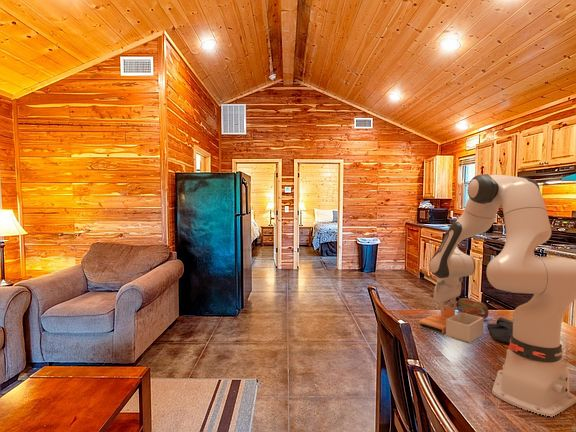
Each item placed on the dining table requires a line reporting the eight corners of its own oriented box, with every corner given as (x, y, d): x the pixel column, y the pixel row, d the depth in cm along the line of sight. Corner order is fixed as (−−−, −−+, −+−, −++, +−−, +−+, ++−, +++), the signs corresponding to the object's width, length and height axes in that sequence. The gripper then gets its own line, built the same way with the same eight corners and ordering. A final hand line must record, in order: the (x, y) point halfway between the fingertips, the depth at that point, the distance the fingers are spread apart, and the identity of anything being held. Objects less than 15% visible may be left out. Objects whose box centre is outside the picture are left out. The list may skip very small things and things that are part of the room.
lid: (443, 333, 132) (443, 318, 132) (419, 326, 140) (419, 311, 140) (460, 323, 142) (460, 309, 142) (437, 317, 151) (437, 304, 151)
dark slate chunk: (486, 342, 125) (486, 330, 125) (487, 324, 144) (487, 314, 144) (534, 351, 117) (535, 339, 117) (528, 331, 136) (529, 321, 135)
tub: (469, 343, 123) (469, 325, 123) (446, 336, 130) (446, 319, 130) (483, 334, 132) (483, 317, 132) (460, 327, 139) (460, 312, 139)
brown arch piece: (455, 312, 159) (456, 296, 159) (460, 311, 160) (460, 295, 160) (485, 322, 145) (485, 304, 145) (489, 321, 147) (489, 303, 146)
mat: (443, 335, 131) (443, 334, 131) (416, 327, 140) (416, 326, 140) (459, 326, 141) (459, 325, 141) (434, 318, 150) (434, 318, 150)
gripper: (444, 284, 136) (443, 315, 137) (464, 277, 149) (463, 306, 149) (429, 281, 141) (429, 311, 142) (450, 275, 154) (450, 303, 154)
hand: (447, 308), depth 146 cm, fingers open, 8 cm apart
